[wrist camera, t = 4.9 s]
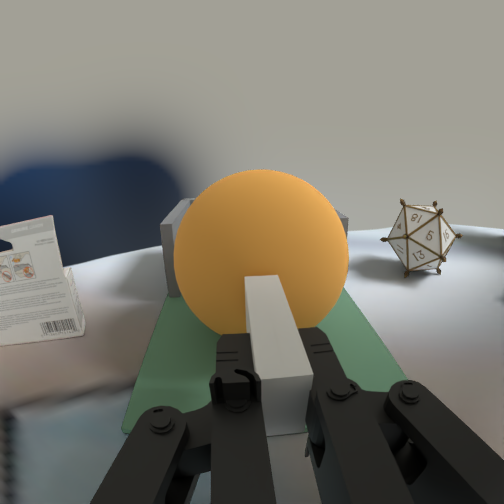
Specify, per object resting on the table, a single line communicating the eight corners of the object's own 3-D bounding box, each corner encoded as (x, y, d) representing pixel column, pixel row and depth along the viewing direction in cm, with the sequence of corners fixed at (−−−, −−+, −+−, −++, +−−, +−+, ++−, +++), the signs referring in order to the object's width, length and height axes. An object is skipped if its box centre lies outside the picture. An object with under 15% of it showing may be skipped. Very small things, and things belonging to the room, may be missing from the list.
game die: (396, 300, 32) (353, 227, 32) (428, 261, 35) (392, 195, 35) (456, 293, 24) (411, 201, 24) (481, 247, 27) (443, 169, 27)
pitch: (311, 248, 39) (313, 194, 36) (420, 406, 13) (461, 298, 11) (185, 253, 38) (181, 198, 35) (123, 432, 12) (77, 322, 10)
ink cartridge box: (-13, 335, 18) (-45, 232, 15) (87, 322, 22) (61, 208, 19) (-21, 350, 16) (-59, 241, 13) (85, 338, 20) (54, 214, 17)
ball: (320, 302, 26) (318, 173, 24) (370, 366, 15) (379, 160, 13) (194, 310, 26) (183, 180, 23) (171, 384, 15) (143, 169, 13)
